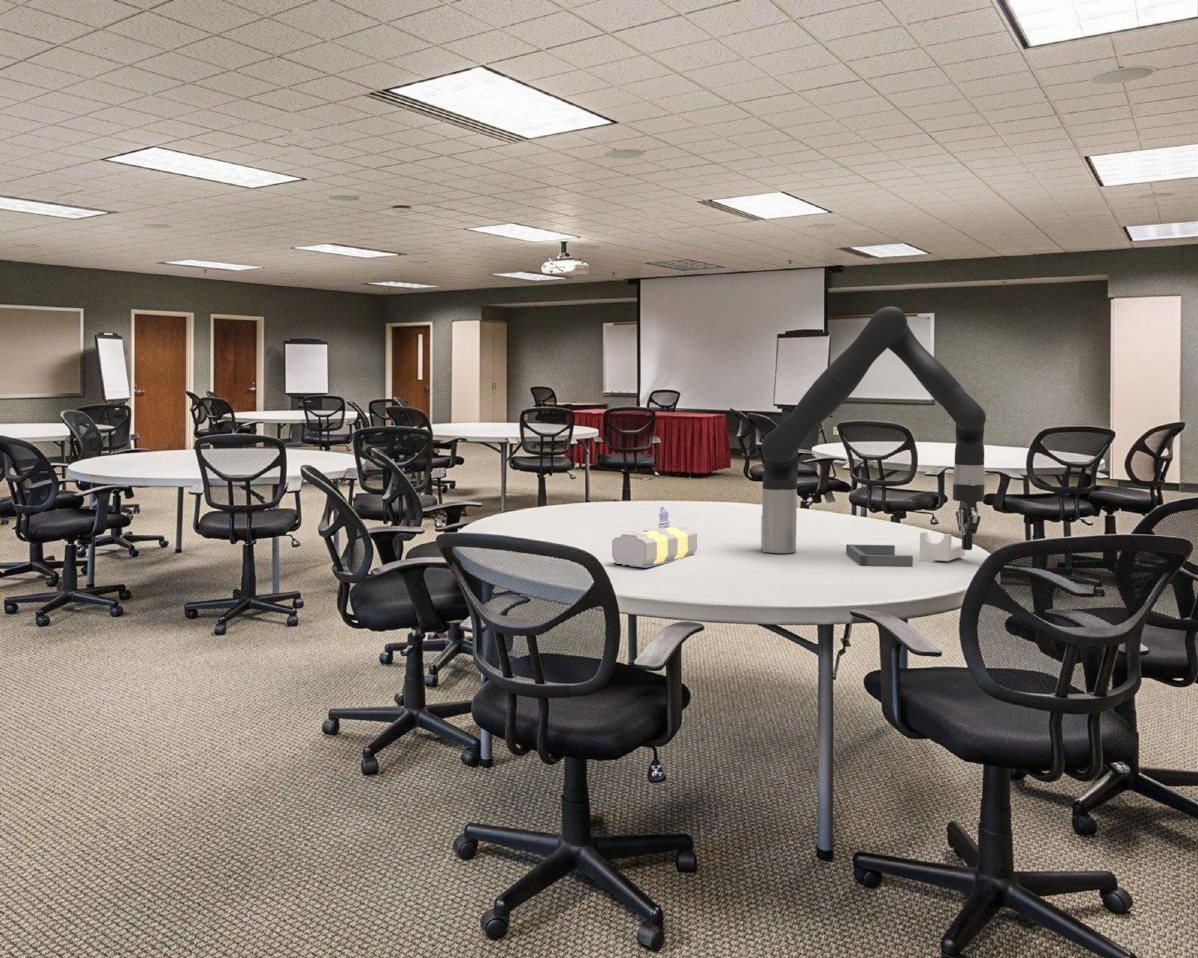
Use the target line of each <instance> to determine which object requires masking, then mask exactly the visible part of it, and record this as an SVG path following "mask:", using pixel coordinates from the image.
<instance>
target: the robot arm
mask: <svg viewBox="0 0 1198 958" xmlns="http://www.w3.org/2000/svg"><path fill="white" fill-rule="evenodd" d="M912 331H913V330H911V328H910V326H909V325H908V319H907V315H906V314H905V313H904V311H903V310H902V309H900V308H898V307H896V306H885V307H882V308H879V309H878V310H876V312H874V314H873V315H872V316H871V318H870V319H869V321H868V322H867V324H865V326H864V328H863V329H862V331H860V333H859V334H858V336H857V337H856V339H854V341H853V342H852V343H851V344H850V345H849V346H848V347H847V348H846V349H845V350H844V351H843V352H842V353H840V355H839V356H837V358H835V360H834V361H833V362H831V364H830V365H829V366H828V367H827V368H826V369H824V371H822V373H821V374H820V375H819V377H818V378H816V380H814V382H813V383H812V384H811V386H810V387H809V388H808V390H807V391H806V392H805V394H804V395H803V396H802V397H801V398H800V400H799V402H798V403H797V404H796V406H795V407H794V409H792V411H791V412H790V413H789V414H788V416H786V417H785V418H784V419H783V420H782V421H781V422H780V423H779V424H778V425H777V426H776V427H774V428H773V429H772V430H771V431H770V432H768V433H767V434H766V435H765V437H764V438H763V440H762V443H761V452H762V455H763V457H764V460H763V463H764V467H763V477H762V493H761V494H762V496H761V497H762V500H761V501H762V503H761V505H762V506H761V507H762V509H761V510H762V511H761V514H762V515H761V520H760V521H761V522H760V523H761V524H760V530H761V531H760V532H761V533H760V550H761V552H762V553H772V554H792V553H796V552H797V519H798V518H797V506H798V505H797V504H798V500H797V499H798V498H797V497H798V496H797V495H798V479H799V477H798V476H799V454H800V453H799V447H800V446H801V445H802V444H803V443H804V441H805V440H806V439H807V437H808V436H809V435H810V434H811V432H812V431H813V430H814V429H815V428H816V427H817V426H819V425H820V424H822V422H824V421H825V420H827V418H829V417H830V415H832V414H833V413H834V412H835V411H836V410H837V409H838V408H840V406H842V404H843V403H844V402H845V401H846V400H847V399H848V398H849V397H850V396H851V394H853V392H854V391H855V389H856V388H857V387H858V385H859V384H860V383H861V381H862V380H863V378H864V377H865V376H866V375H867V372H868V371H869V369H870V368H871V366H872V365H873V363H874V362H875V361H876V360H877V359H878V358H879V357H880V355H882V354H883V353H884V352H885V351H886V350H887V349H888V350H889V351H891V352H892V353H893V354H894V355H896V356H897V357H898V358H899V359H900V360H901V362H903V364H905V365H906V367H907V368H908V369H909V370H910V371H911V373H912V374H913V376H914V377H915V378H916V379H917V380H918V382H919V383H920V384H921V385H922V387H923V388H924V389H925V390H926V391H927V393H928V394H929V395H930V396H931V397H932V398H933V399H934V401H936V403H938V404H939V405H940V406H941V407H942V408H943V409H944V410H945V411H946V412H947V414H948V415H949V416H950V417H951V418H952V420H953V421H954V422H955V441H956V442H955V448H954V467H953V473H952V474H953V475H952V500H953V501H956V502H959V505H958V506H959V507H957V508H958V509H957V511H955V516H956V522H957V523H956V524H957V527H958V531H959V532H960V534H961V545H962V549H964V550H965V551H971V550H973V539H974V538H973V537H974V535H976V534H977V531H978V528H979V525H980V522H981V515H979V509H978V504H977V503H978V502H980V503H981V502H984V501H985V484H986V483H985V481H986V477H985V476H986V473H985V446H984V437H985V436H984V435H985V434H984V433H985V423H986V420H987V416H986V413H985V410H984V409H983V407H981V406H980V404H979V403H977V402H976V401H975V400H974V398H972V397H971V395H970V394H968V393H967V392H966V391H965V390H964V388H963V387H962V385H961V384H960V382H959V381H958V380H957V379H956V378H955V377H954V375H953V374H951V373H950V371H949V370H948V369H947V368H946V367H945V366H944V365H943V364H942V363H941V362H940V361H939V360H938V359H936V358H935V356H933V355H932V354H931V353H930V352H929V351H928V350H927V349H926V348H925V347H924V346H923V345H922V344H921V342H920V341H919V340H918V339H917V338H916V336H915V334H914V332H912Z"/></svg>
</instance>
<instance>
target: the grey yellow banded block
mask: <svg viewBox="0 0 1198 958" xmlns="http://www.w3.org/2000/svg"><path fill="white" fill-rule="evenodd" d="M659 509H660V511H659V512H661V513H658V515H659V516H658V517H659V522H658V528H652V529H645V530H643V532H635V531H634V532H628V533H627V532H626V533H623V534H622V533H621V536H615V537H614V538H613V539H612V542H611V544H612V545H611V550H612V552H611V553H612V554H611V555H612V556H611V558H612V559H613V561H614V563H616V564H622V565H621V566H625V565H629V566H628V567H635V568H643V569H644V568H651V567H655V566H659V565H663V564H668V563H673V562H676V560H677V561H679V560H678V559H680V560H683V559H686V558H687V557H689V556H692V555H694V553H696V551H697V550H698V533H697V532H696V531H695V530H693V529H690V528H689V527H688V526H686V525H670V522H669V521H670V520H669V512H667V509H665V507H664V506H660V508H659ZM685 556H686V557H685ZM616 564H615V565H616Z"/></svg>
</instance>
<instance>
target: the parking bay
mask: <svg viewBox="0 0 1198 958" xmlns="http://www.w3.org/2000/svg"><path fill="white" fill-rule="evenodd" d="M845 547H846V549H845V553H847V554H846V555H847V556H849V558H851V559H852V560H854V561H855V562H856V563H857V564H858V565H860V566H861V567H862V566H863V567H913V566H914V563H913V561H914V557H913V555H909V554H908V555H904V554H903V555H900V554H897V555H896V554H895V551H896V549H895V548H896V545H895V544H846V546H845Z"/></svg>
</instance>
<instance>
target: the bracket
mask: <svg viewBox="0 0 1198 958" xmlns="http://www.w3.org/2000/svg"><path fill="white" fill-rule="evenodd" d="M965 556H966V550H964V549H962V544H952V533H946V534H944V535H943V539H942V540H941V541H940V542H935V541H933V540H932V539H931V538H930V536H929V533H928V531H922V532H919V562H927V563H935V562H938V561H942V562H949V561H952V560H955V559H959V558H962V557H965Z"/></svg>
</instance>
